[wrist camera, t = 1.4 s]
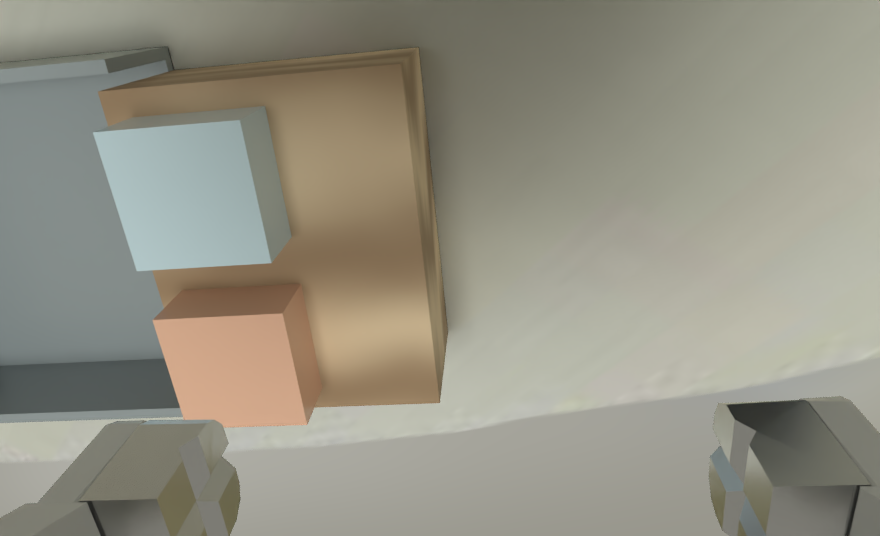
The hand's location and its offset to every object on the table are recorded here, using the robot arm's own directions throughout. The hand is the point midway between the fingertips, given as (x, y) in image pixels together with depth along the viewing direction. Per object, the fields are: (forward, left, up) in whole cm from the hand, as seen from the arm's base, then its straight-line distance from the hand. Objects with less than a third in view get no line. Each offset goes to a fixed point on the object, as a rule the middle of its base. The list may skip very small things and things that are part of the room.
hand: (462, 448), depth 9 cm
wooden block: (+3, -8, -21) cm, 23 cm away
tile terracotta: (+7, -10, -15) cm, 20 cm away
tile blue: (0, -10, -15) cm, 18 cm away
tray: (+3, -21, -21) cm, 30 cm away
